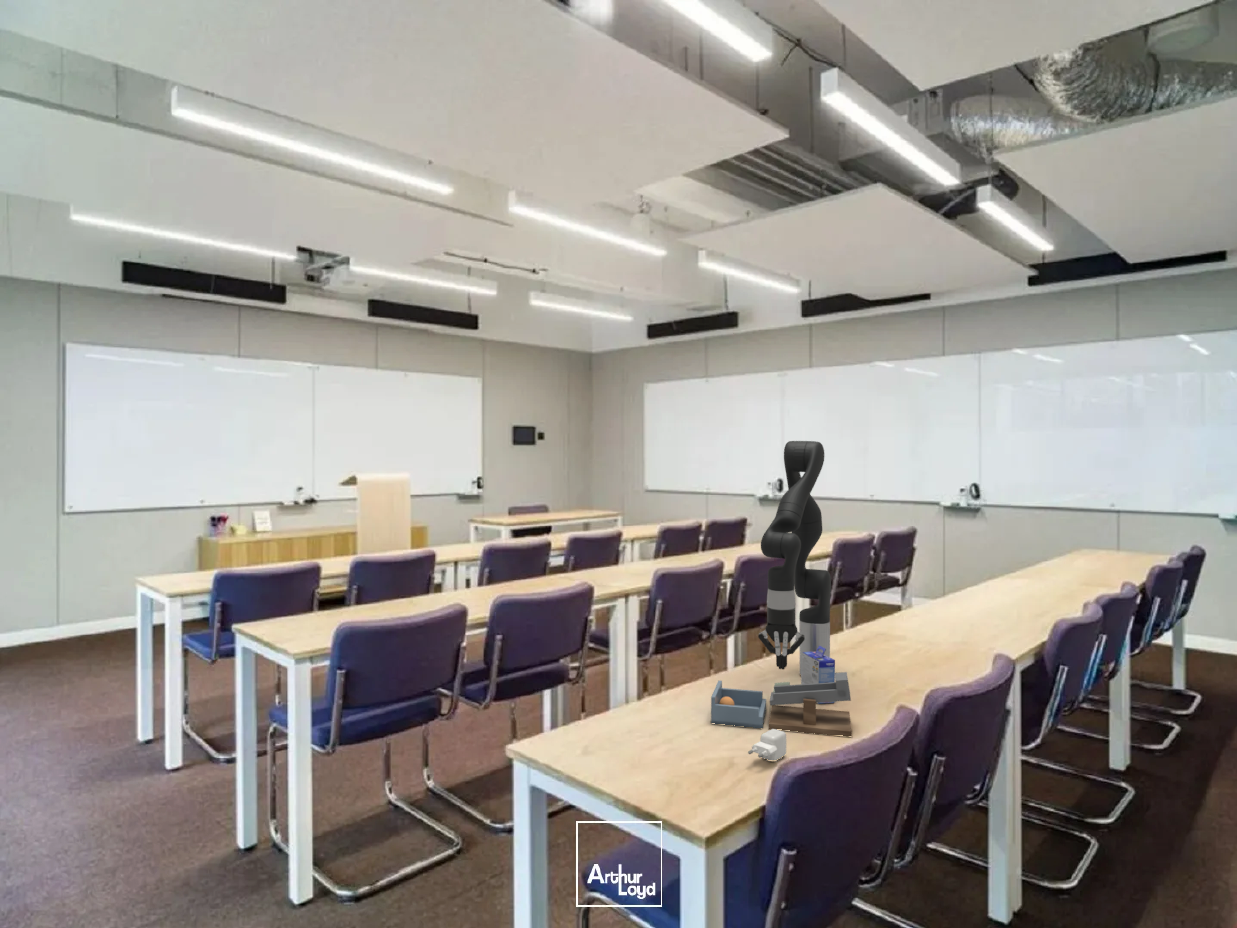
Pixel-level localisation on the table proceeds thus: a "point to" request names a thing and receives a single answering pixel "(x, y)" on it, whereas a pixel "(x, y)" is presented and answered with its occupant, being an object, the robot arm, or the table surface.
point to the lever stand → (810, 719)
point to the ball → (726, 701)
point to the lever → (812, 691)
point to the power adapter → (771, 745)
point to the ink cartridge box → (817, 668)
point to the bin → (738, 707)
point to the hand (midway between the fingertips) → (781, 668)
